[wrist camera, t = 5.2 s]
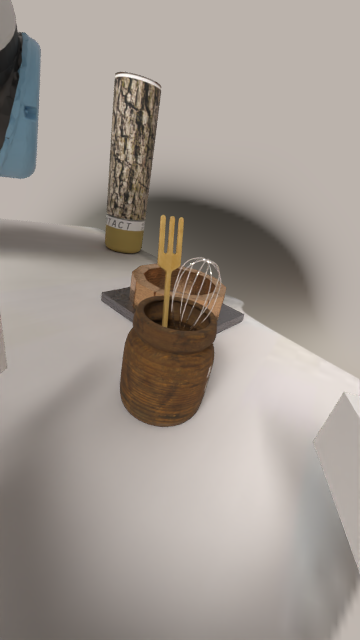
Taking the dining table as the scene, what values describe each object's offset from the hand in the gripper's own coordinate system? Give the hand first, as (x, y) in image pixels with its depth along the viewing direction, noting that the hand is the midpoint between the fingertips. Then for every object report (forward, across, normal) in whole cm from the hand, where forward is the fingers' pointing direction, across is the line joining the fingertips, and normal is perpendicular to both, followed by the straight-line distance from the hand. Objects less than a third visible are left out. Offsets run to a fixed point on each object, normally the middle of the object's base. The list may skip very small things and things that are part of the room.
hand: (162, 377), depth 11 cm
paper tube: (+42, -15, -8) cm, 45 cm away
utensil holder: (+7, 0, -8) cm, 10 cm away
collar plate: (+21, -2, -7) cm, 22 cm away
